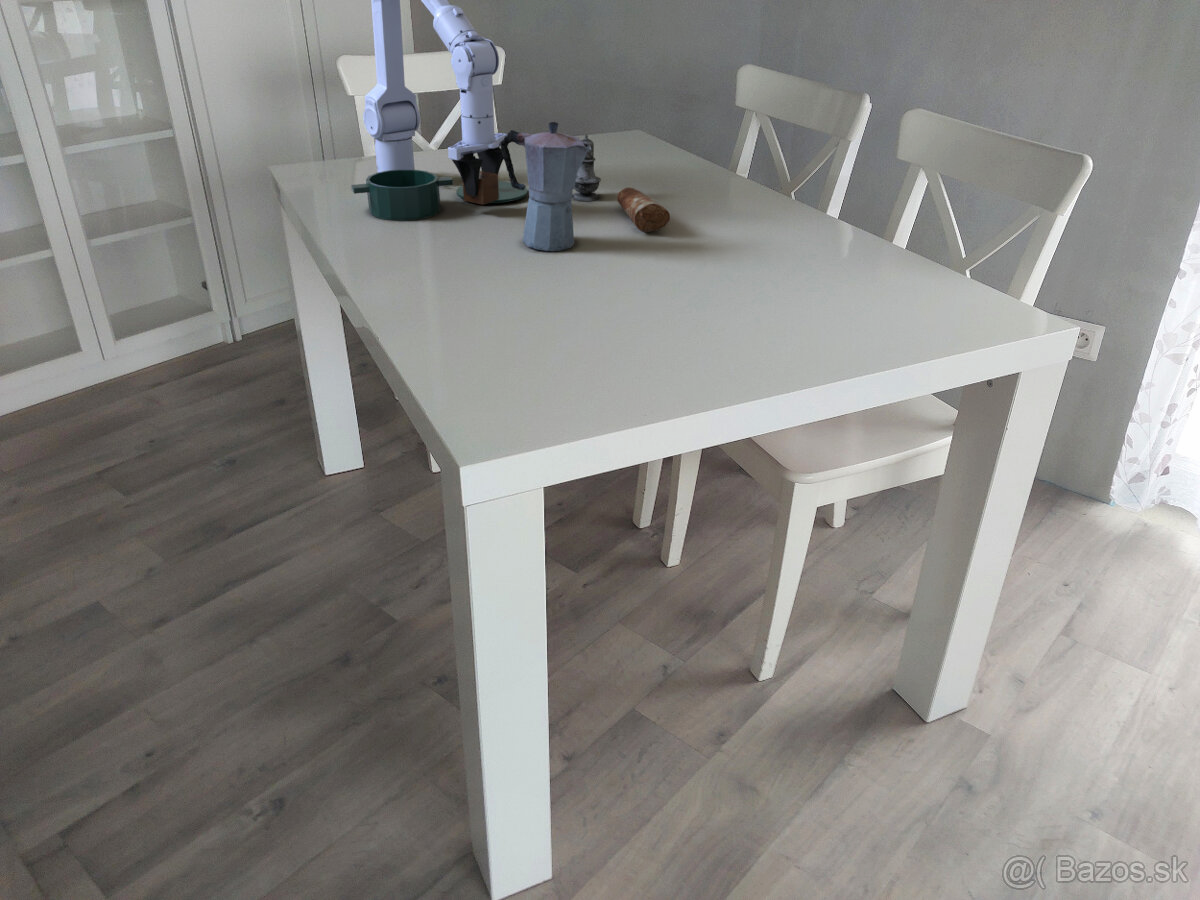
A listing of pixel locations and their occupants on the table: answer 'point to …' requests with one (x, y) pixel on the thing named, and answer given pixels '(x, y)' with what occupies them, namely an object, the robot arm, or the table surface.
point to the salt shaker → (587, 177)
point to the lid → (502, 192)
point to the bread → (643, 210)
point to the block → (484, 189)
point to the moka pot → (548, 185)
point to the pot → (403, 194)
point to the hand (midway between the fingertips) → (480, 192)
